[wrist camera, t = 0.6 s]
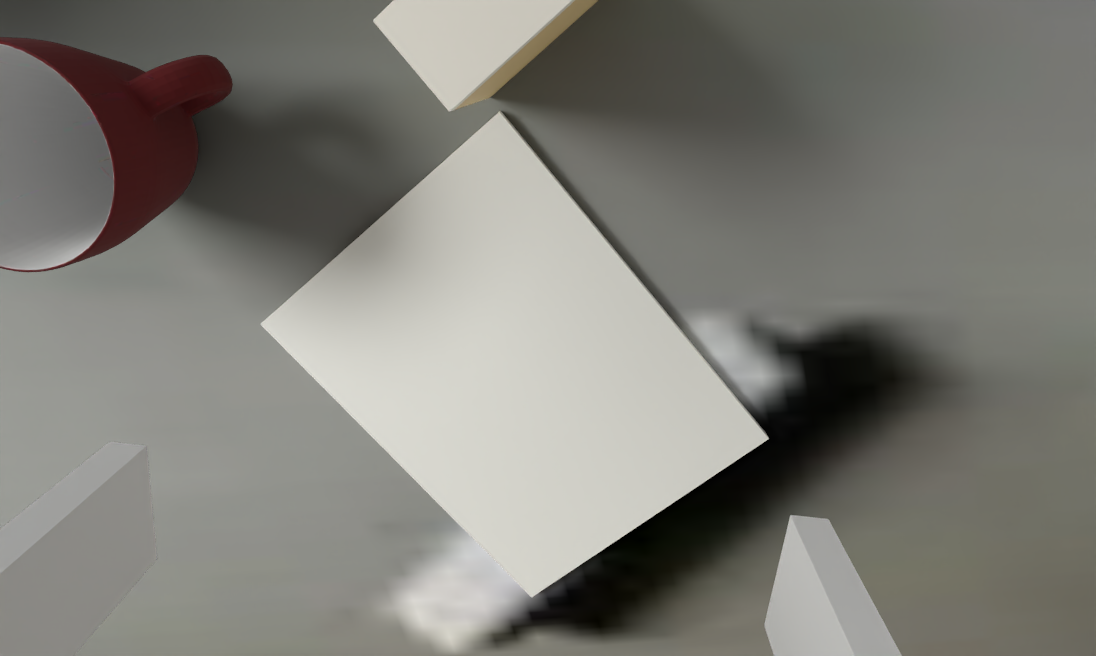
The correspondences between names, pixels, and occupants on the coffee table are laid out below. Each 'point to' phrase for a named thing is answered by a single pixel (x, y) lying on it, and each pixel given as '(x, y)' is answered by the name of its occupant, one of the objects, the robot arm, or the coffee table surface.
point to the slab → (474, 40)
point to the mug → (92, 147)
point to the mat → (514, 362)
